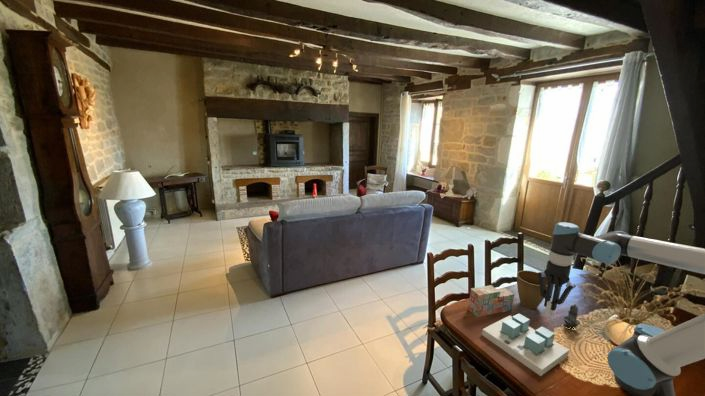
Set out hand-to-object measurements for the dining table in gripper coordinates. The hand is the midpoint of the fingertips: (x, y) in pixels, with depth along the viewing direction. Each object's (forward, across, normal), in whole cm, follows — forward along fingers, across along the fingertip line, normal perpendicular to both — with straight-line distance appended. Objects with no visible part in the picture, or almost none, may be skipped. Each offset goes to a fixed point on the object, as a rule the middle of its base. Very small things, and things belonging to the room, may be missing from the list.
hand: (548, 315), depth 117 cm
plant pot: (+16, +20, -26) cm, 36 cm away
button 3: (+13, 0, +7) cm, 15 cm away
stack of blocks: (+16, +27, -4) cm, 32 cm away
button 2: (+13, +10, 0) cm, 16 cm away
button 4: (+13, 0, 0) cm, 13 cm away
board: (+16, +5, +5) cm, 17 cm away
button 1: (+13, +10, +7) cm, 18 cm away
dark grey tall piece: (+16, +1, -26) cm, 31 cm away
